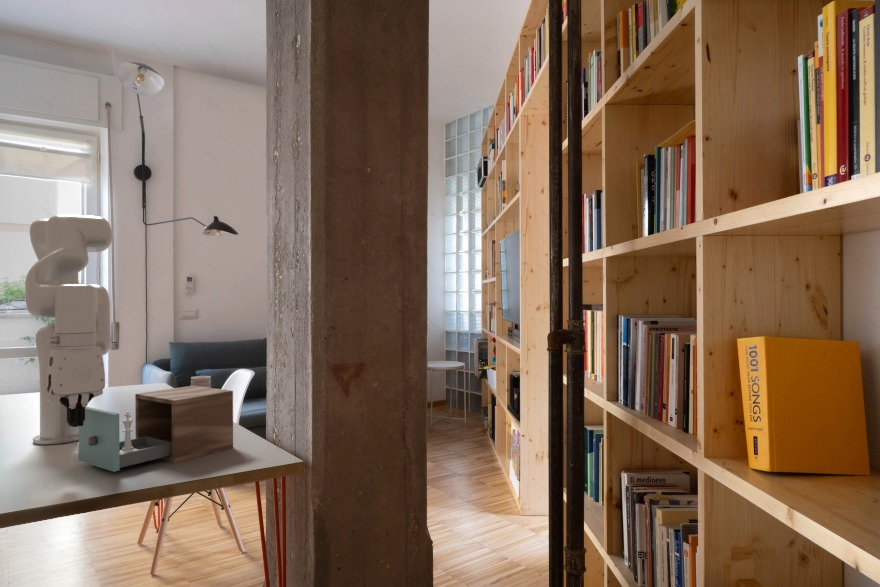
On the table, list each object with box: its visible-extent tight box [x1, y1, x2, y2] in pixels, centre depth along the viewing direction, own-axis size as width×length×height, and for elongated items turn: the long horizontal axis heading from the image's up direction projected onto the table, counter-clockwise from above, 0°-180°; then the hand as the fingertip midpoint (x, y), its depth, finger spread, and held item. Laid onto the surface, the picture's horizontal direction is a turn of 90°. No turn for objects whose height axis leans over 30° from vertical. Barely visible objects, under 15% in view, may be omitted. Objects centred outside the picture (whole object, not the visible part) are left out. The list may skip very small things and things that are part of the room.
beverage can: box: [190, 375, 212, 388], centre depth 172 cm, size 6×6×15 cm
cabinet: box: [134, 385, 234, 463], centre depth 146 cm, size 17×16×15 cm
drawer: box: [78, 406, 172, 473], centre depth 134 cm, size 16×16×12 cm
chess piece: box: [120, 411, 138, 454], centre depth 134 cm, size 5×5×10 cm
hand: (76, 425), depth 125 cm, fingers closed
